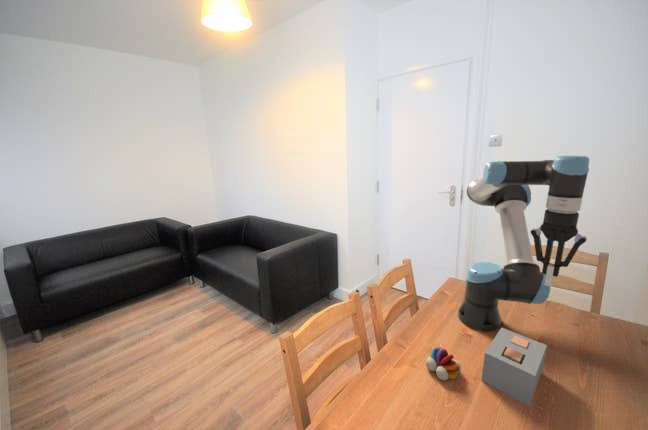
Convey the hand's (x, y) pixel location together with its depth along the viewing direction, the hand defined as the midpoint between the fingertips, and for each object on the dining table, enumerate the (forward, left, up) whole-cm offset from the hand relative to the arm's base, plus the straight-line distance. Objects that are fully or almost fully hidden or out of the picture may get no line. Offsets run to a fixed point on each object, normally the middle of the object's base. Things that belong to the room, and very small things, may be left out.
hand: (548, 284), depth 86 cm
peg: (-3, -19, -26) cm, 32 cm away
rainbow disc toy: (-19, -27, -27) cm, 43 cm away
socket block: (-3, -15, -26) cm, 31 cm away
